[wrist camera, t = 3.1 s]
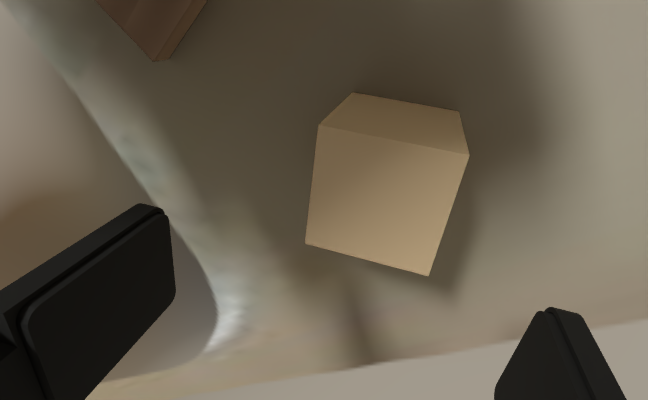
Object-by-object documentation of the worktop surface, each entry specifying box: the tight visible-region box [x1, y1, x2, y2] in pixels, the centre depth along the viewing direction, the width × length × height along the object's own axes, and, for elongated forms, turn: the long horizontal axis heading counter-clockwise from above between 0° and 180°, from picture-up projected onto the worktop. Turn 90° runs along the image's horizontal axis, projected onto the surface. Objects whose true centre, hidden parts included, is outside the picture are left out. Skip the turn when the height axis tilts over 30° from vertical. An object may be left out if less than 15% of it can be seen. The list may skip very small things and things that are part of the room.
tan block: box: [305, 92, 470, 276], centre depth 15 cm, size 5×5×6 cm
